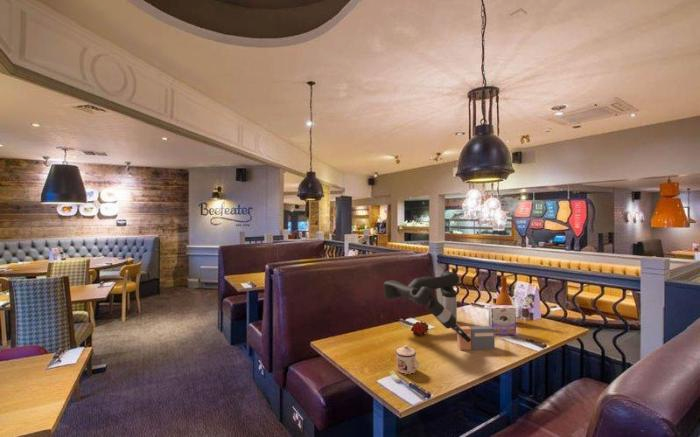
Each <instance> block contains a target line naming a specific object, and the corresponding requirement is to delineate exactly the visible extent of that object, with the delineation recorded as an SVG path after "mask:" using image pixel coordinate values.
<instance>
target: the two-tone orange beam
mask: <svg viewBox="0 0 700 437" xmlns="http://www.w3.org/2000/svg"><path fill="white" fill-rule="evenodd" d="M459 326H460V325H459ZM470 327H471V326H467V325H466V326H463V325H462V326H460V328H461V329H462V330H463V332H464V333H466V334H467V336H468V337H469V338H470V339H471V328H470ZM456 334H457V333H456ZM456 339H457V341H456V342H457V348H458V349H459V351H463V350H464V351H465V350H467V351H468V350H471V341H470V342H467V341H466V340H465V339H464V338H462V336H460V335H458V334H457V337H456ZM471 351H472V350H471Z"/></svg>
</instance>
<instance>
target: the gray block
mask: <svg viewBox="0 0 700 437" xmlns="http://www.w3.org/2000/svg"><path fill="white" fill-rule="evenodd" d="M469 327H470V328H471V351H479V350H481V351H482V350H495V349H496V348H495V342H496V341H495V335H494V328H493V327H492V326H489V325H482V326H480V325H479V326H474V325H473V326H469Z"/></svg>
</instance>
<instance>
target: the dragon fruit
mask: <svg viewBox="0 0 700 437" xmlns="http://www.w3.org/2000/svg"><path fill="white" fill-rule="evenodd" d="M410 332H412V334H413V335H415V336H419V335H420V337H422V336H424V335H425V334H427V333H429V324H428V323H427V322H423V321H422V320H420V321H416V322H414V323H413V324H412V327H411V329H410Z"/></svg>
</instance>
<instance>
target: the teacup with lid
mask: <svg viewBox="0 0 700 437" xmlns="http://www.w3.org/2000/svg"><path fill="white" fill-rule="evenodd" d="M395 353H396V370H398V371H399V372H401V373H405V374H404V375H406V374H409V375H412V374H411V373H413V374H415V373H416V370H418V369H419V367H420V363H419V361H418V359H417V358H416V353H417V352H416V350H415V349H414V348H412V347H409V345H407V344H405V345H403V346H401V347H398V348H397V349H396V350H395ZM398 371H397V372H398ZM399 372H398V373H399ZM401 373H400V374H401Z"/></svg>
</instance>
